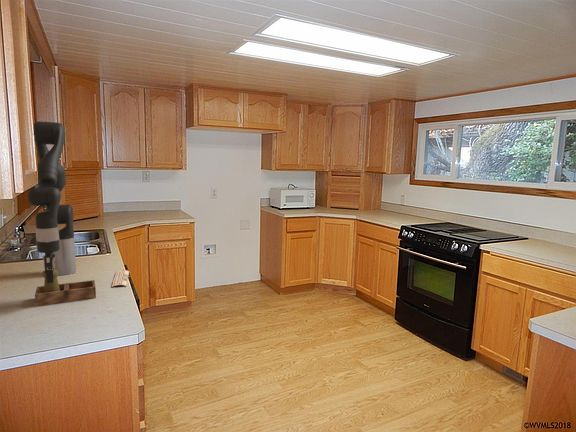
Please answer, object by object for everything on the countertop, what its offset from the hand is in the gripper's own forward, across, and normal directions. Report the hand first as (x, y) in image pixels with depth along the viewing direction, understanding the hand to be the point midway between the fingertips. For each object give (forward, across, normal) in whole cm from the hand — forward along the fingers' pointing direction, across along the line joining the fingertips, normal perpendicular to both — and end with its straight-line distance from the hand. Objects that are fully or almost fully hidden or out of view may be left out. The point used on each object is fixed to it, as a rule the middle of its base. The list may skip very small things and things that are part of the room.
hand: (50, 279), depth 152 cm
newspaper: (+9, -17, +27) cm, 33 cm away
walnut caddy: (+8, 0, +5) cm, 10 cm away
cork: (+7, 0, 0) cm, 7 cm away
